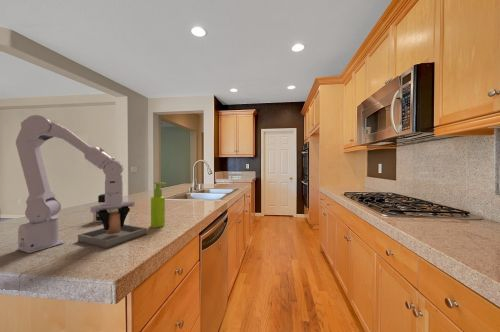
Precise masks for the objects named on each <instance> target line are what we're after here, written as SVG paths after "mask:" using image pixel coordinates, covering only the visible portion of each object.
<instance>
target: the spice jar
mask: <svg viewBox="0 0 500 332" xmlns="http://www.w3.org/2000/svg"><path fill="white" fill-rule="evenodd" d="M108 224H109V228H108V230H107V234H116V233H119V232H121V219H120V213H119V211H113V212H109V220H108Z"/></svg>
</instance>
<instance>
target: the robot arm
mask: <svg viewBox="0 0 500 332" xmlns="http://www.w3.org/2000/svg"><path fill="white" fill-rule="evenodd" d="M53 138H56V139H57V138H58V139H61V140H63V141H65V142H66V143H68V144H70V146H73V147H74V148H75V149H77V150H79V151H80V152H81V153H83V155H84V159H85V160H87V161H88V162H90V163H91V164H92V165H93V166H95V167H96V168H98V169H99V170H102V172H103V174H104V175H105V177H104V178H105V179H104V180H105V181H104V194H105V204H103V205H99V204H97V205H98V206H96V205H93V206H92V205H91V206H89V208H90V213H92V214H93V213H94V212H97V214H98V215H99V217H100V218H101V220H102V222H101V223H102V226H103V228H104V229H105V230H108V228H109V224H108V220H109V212H108V211H107V210H111V209H118V211H119V213H120V219H121V227H123V225H124V224H125V221H126V218H127V216H128V215H129V212H130V210H131V208H132V207H136V206H135V201H133V200H132V201H124V200H123V190H124V189H123V186H124V184H123V183H124V182H123V174H122V173H123V172H124V166H123V164H122V163H121V162H120V161H118V160H116V158H115V157H112V156H110V155H109V154H108V153H106V151H105V149H104V148H102V147H100V148H99V147H98V146H91V145H90V144H88V143H87V142H85V141H84V140H83V139H82V138H80V137H79V136H78V135H77V134H75V133H74V132H73V131H72V130H70V129H68V128H67V127H66V126H64V125H62V124H59V123H58V122H57V121H55V120H51V119H48V118H46V117H45V116H43V115H40V114H39V115H38V114H34V115H30V116H28V117H27V118H25V119H23V120H22V121H21V122H20V130H19V132H18V134H17V137H16V139H15V145H16V148H17V153H18V157H19V162H20V165H21V168H22V172H23V176H24V180H25V183H26V187H27V190H28V197H27V199H26V200H25V203H26V207H25V208H26V209H25V211H24V214H25V218H26V219H28V221H29V222H26V223H23V224H20V225H19V226H18V231H17V235H18V236H17V238H18V239H17V248H16V249H17V250H18V251H22V252H25V253H27V254H30V253H35V252H38V251H42V250H45V249H50V248H51V247H56V246H60V245H62V244H65V241H64V240H59V215H58V213H60V211H61V209H62V204H61V202H60V201H59V200H57V197H56V194H54V192H53V191H52V190H51V188H50V183H49V180H48V176H47V172H46V171H47V170H46V168H45V164H44V160H43V156H42V151H41V149H40V147H41V146H42V145H43V144H44V143H45V142H46V141H48V140H51V139H53ZM130 207H131V208H130Z"/></svg>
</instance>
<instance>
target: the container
mask: <svg viewBox="0 0 500 332" xmlns="http://www.w3.org/2000/svg"><path fill="white" fill-rule="evenodd" d="M97 199H98V201H97V203H98V204H97V205H95V206H98V205H103V204H105V193H103V194H102V193H101V194H99V195H98V197H97ZM107 211H108V212H113V211H118V209H111V210H107ZM92 214H93V215H92V217H93V218H92V219H93V221H92V222H93V223H102V220H101V218H100V217H99V215H98V214H97V212H94V213H92Z"/></svg>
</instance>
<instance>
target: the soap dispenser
mask: <svg viewBox="0 0 500 332" xmlns="http://www.w3.org/2000/svg"><path fill="white" fill-rule="evenodd" d="M153 185H155V188H154V190H153V196H152V197H150V227H151V228H162V227H164V226H165V225H166V224H165V221H166V218H165V215H166V213H165V211H166V208H165V207H166V205H165V204H166V200H165V199H166V197H165V196H163V192H162V191H163V189H161V185H167V182H163V181H156V182H153Z"/></svg>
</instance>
